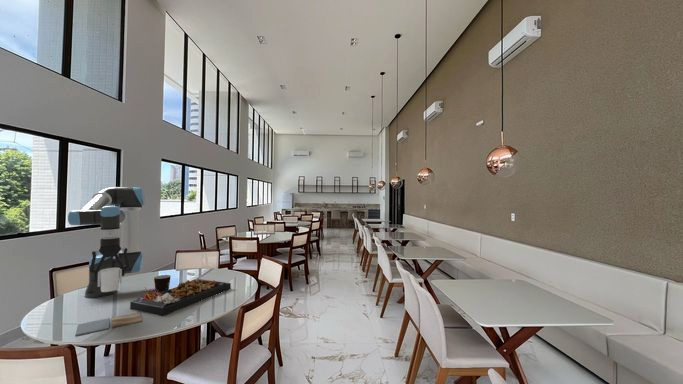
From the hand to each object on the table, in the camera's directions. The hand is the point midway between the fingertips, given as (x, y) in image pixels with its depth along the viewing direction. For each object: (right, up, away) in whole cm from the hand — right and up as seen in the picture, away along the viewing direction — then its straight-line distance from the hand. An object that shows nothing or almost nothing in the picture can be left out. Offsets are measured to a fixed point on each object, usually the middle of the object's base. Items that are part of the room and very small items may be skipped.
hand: (109, 284), depth 143 cm
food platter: (+24, -16, +24) cm, 38 cm away
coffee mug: (+6, -16, +34) cm, 38 cm away
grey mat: (+3, -15, -13) cm, 20 cm away
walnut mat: (+13, -15, -6) cm, 21 cm away
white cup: (0, -3, 0) cm, 3 cm away
